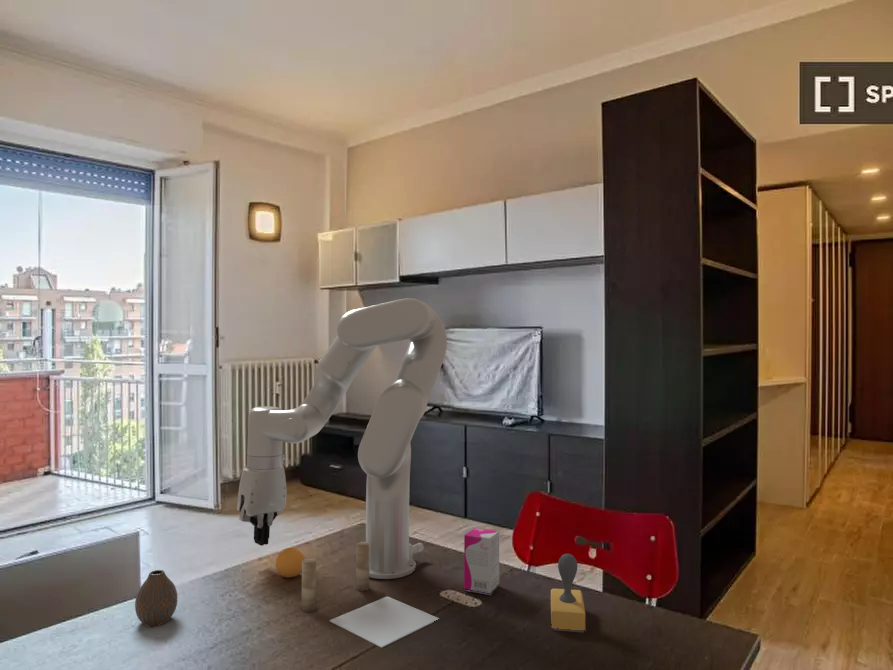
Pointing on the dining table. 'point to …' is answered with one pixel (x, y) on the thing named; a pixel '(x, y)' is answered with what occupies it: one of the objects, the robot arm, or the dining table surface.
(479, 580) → the supplement box
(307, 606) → the post
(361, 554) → the post
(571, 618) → the rubber stamp
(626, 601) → the dining table surface
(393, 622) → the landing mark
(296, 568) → the ball
